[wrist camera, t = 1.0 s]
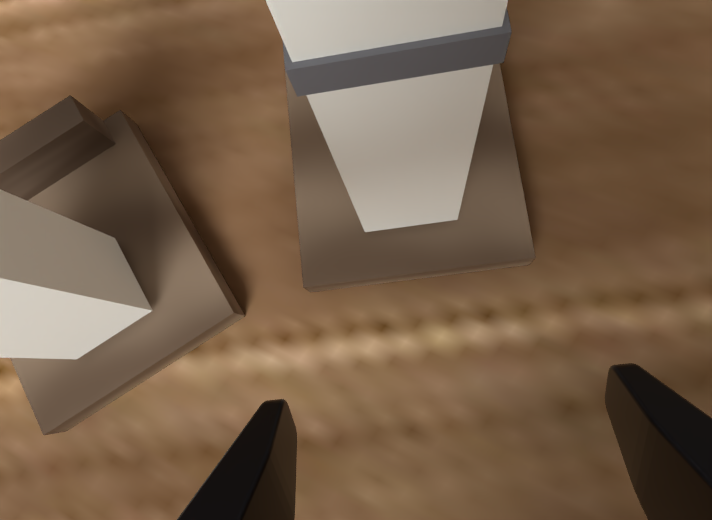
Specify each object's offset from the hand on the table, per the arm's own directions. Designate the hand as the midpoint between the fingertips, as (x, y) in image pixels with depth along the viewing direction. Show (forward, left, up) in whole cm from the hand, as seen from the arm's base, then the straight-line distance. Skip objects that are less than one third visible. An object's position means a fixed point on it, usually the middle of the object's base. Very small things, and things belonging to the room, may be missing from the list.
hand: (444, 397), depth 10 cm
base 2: (+10, +2, -14) cm, 17 cm away
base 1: (+4, +16, -14) cm, 22 cm away
